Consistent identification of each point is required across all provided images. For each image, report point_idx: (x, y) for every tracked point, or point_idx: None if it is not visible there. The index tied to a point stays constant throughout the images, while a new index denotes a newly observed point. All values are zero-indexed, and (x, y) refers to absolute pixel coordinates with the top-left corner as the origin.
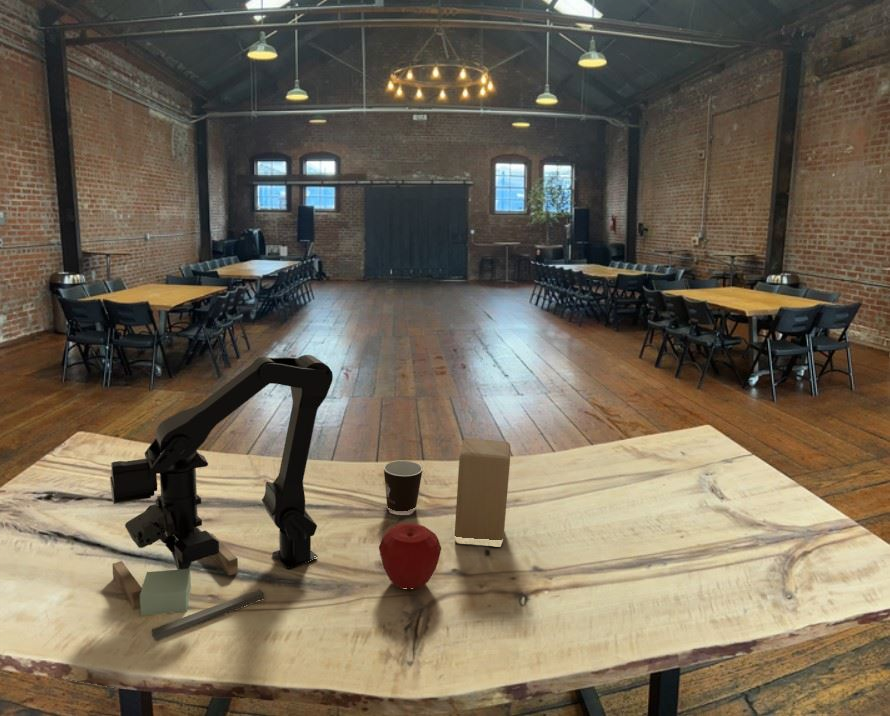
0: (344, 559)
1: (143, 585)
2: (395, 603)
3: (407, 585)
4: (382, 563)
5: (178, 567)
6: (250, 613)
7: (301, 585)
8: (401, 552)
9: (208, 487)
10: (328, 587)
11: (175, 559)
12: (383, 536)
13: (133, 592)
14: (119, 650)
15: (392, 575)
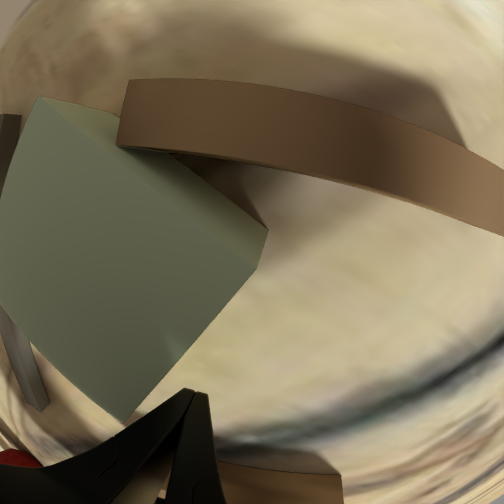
0: None
1: (93, 147)
2: (5, 428)
3: (7, 449)
4: None
5: (165, 412)
6: None
7: (59, 443)
8: None
9: (483, 489)
10: (45, 444)
11: (177, 451)
12: None
13: (128, 84)
14: (44, 28)
15: (3, 456)
